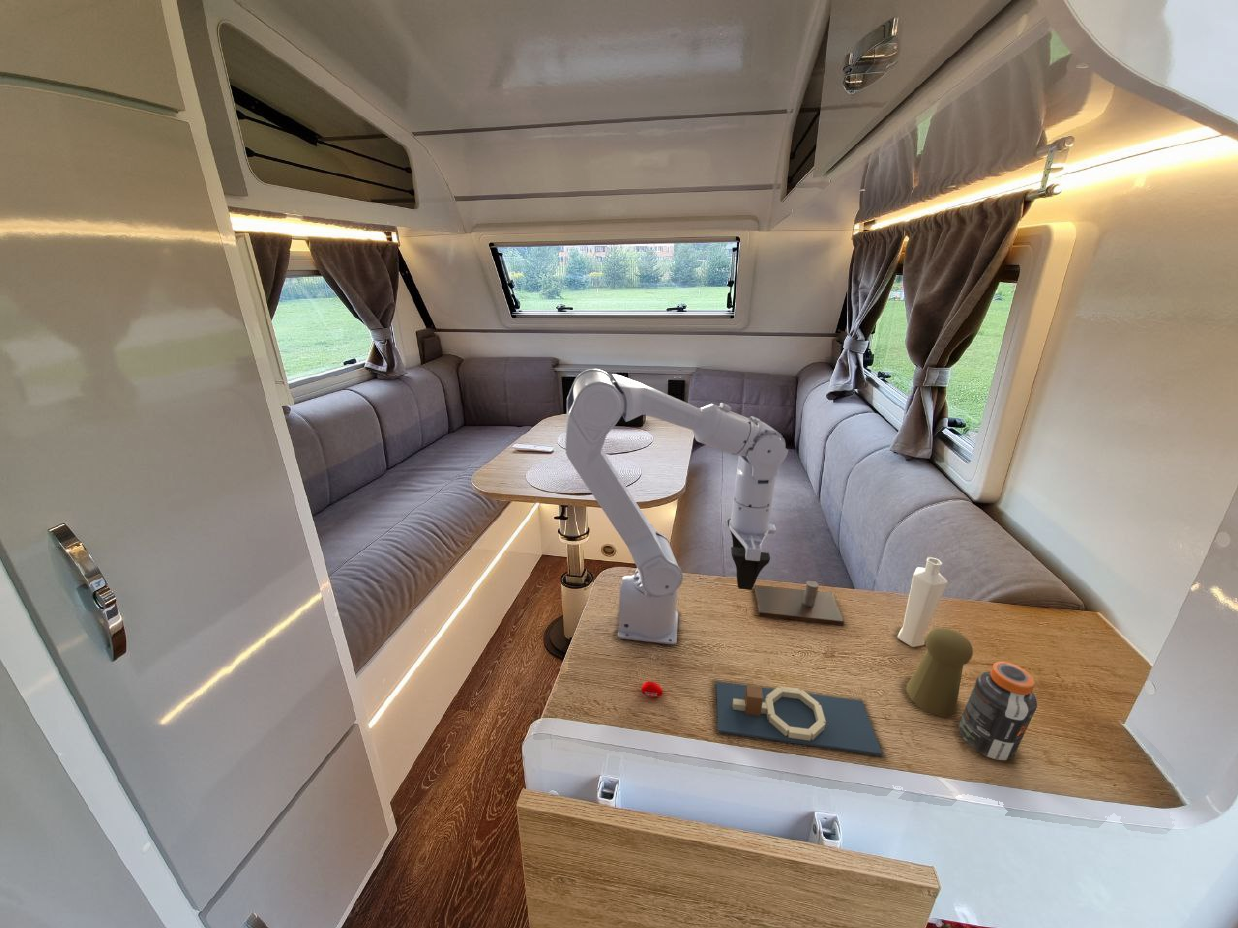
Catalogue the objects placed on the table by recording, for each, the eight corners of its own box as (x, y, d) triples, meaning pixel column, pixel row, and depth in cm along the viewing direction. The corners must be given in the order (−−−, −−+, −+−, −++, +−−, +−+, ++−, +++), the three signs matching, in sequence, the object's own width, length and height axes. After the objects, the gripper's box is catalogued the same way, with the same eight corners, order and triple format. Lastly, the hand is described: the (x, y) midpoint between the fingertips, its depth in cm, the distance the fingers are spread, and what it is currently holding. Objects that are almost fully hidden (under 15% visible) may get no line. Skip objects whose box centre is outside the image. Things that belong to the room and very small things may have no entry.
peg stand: (759, 615, 82) (762, 592, 80) (754, 587, 90) (757, 565, 88) (843, 625, 80) (849, 601, 79) (831, 595, 88) (836, 573, 86)
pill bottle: (1017, 771, 57) (1050, 701, 53) (958, 746, 60) (985, 678, 56) (1011, 733, 62) (1041, 667, 57) (956, 712, 65) (981, 647, 60)
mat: (718, 732, 61) (718, 730, 61) (715, 683, 69) (716, 681, 68) (882, 756, 59) (882, 753, 58) (861, 702, 66) (862, 700, 66)
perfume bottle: (896, 644, 76) (919, 565, 71) (893, 626, 80) (915, 551, 75) (929, 652, 75) (955, 572, 69) (924, 634, 79) (948, 557, 73)
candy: (640, 699, 66) (641, 689, 65) (642, 687, 68) (642, 677, 67) (662, 701, 65) (662, 691, 65) (662, 690, 67) (663, 679, 67)
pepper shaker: (941, 682, 69) (963, 622, 65) (965, 718, 64) (990, 654, 60) (898, 678, 70) (917, 618, 66) (918, 713, 64) (940, 650, 60)
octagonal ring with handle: (815, 696, 66) (819, 678, 65) (829, 743, 60) (834, 725, 58) (730, 685, 68) (733, 668, 67) (734, 730, 61) (737, 712, 60)
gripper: (787, 524, 66) (774, 604, 71) (772, 482, 79) (762, 552, 84) (735, 520, 67) (726, 599, 72) (729, 479, 80) (721, 548, 85)
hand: (742, 573), depth 78 cm, fingers open, 7 cm apart
